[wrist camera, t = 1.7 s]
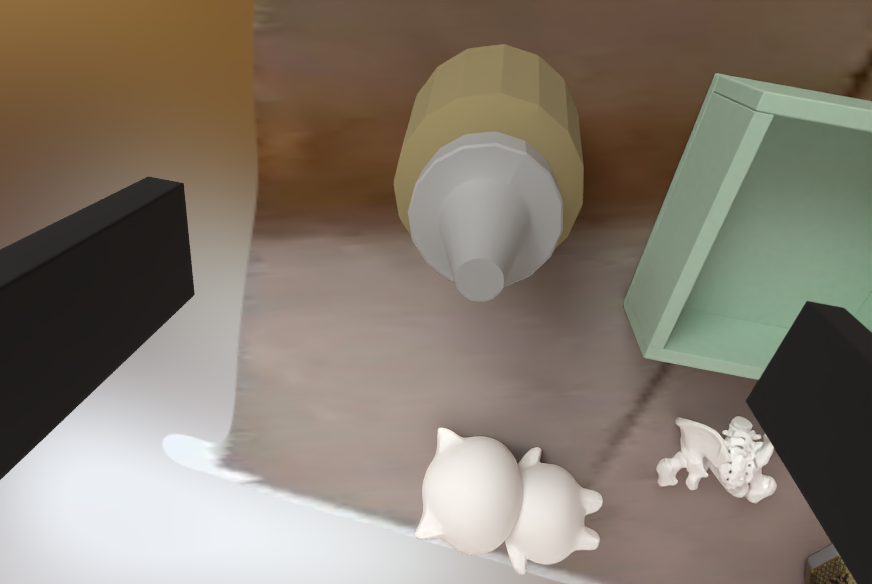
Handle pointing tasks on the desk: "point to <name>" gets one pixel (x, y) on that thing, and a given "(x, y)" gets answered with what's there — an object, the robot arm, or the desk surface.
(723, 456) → the anatomical pelvis
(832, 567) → the ceramic cup
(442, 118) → the squeeze bottle
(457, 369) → the desk surface
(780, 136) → the bin
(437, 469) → the cat figurine
